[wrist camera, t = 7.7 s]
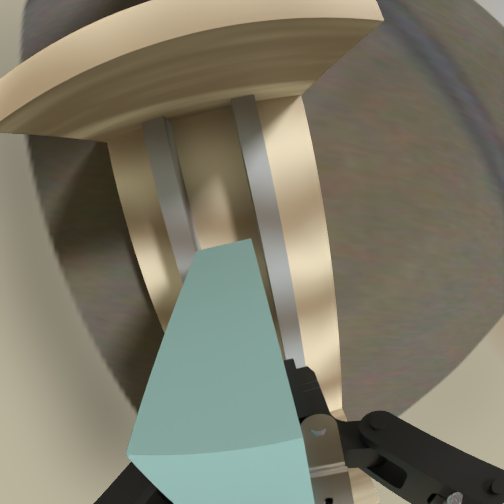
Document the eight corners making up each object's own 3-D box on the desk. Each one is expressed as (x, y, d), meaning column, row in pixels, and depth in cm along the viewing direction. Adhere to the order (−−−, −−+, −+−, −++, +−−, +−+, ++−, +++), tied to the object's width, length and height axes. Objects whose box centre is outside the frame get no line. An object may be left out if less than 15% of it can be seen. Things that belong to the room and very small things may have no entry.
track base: (112, 123, 16) (-16, 92, 5) (290, 79, 16) (367, -19, 5) (217, 432, 25) (216, 537, 13) (337, 407, 25) (377, 506, 13)
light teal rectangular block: (196, 250, 13) (125, 454, 3) (251, 238, 13) (303, 437, 3) (254, 429, 16) (269, 570, 6) (291, 421, 16) (323, 561, 6)
